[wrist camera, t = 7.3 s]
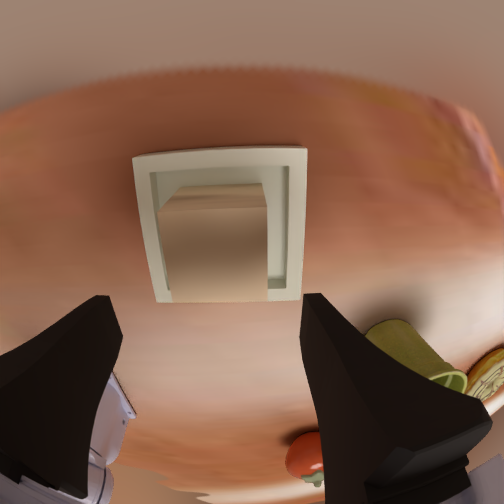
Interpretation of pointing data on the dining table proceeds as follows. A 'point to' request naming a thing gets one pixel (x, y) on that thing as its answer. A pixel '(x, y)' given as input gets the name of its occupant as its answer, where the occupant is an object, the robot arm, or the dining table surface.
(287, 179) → the tray
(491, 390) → the decorated donut
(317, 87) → the dining table surface
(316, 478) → the tomato
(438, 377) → the plant pot
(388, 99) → the dining table surface
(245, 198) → the maple block
